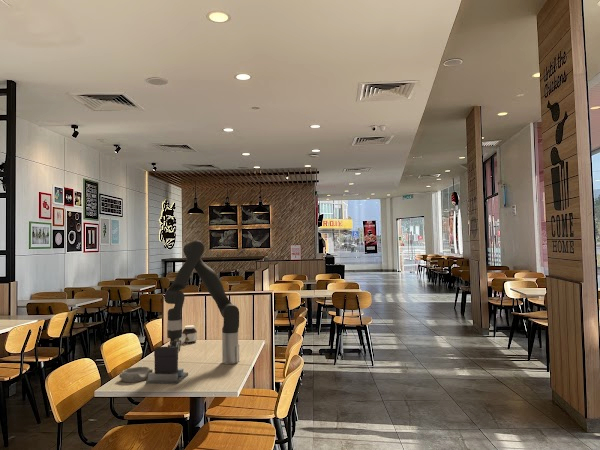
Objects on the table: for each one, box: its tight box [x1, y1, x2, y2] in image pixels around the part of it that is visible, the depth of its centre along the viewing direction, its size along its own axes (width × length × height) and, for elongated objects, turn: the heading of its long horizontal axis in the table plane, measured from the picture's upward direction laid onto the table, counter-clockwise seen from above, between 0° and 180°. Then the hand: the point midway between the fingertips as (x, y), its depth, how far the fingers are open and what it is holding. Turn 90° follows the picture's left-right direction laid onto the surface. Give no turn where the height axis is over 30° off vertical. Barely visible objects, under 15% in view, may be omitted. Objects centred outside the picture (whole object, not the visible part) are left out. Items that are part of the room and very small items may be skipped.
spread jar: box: [179, 324, 198, 345], centre depth 340 cm, size 12×11×12 cm
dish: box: [119, 366, 154, 383], centre depth 246 cm, size 14×14×5 cm
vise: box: [145, 372, 189, 385], centre depth 244 cm, size 16×16×4 cm
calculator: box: [153, 346, 179, 373], centre depth 243 cm, size 11×4×15 cm, turn 87°
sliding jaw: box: [178, 368, 184, 376], centre depth 251 cm, size 11×14×11 cm
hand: (174, 361), depth 255 cm, fingers closed on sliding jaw, 3 cm apart
